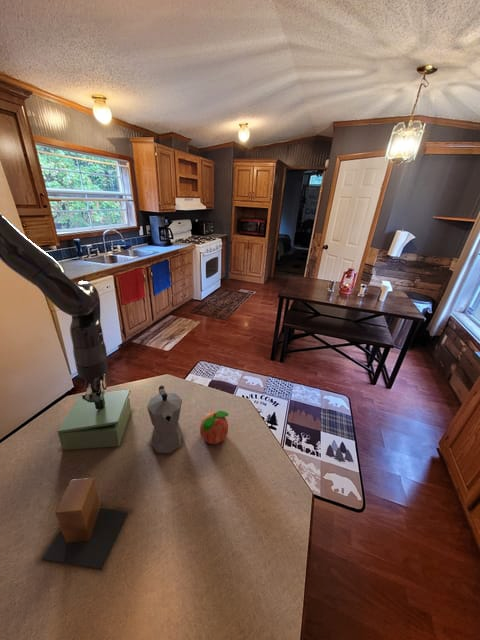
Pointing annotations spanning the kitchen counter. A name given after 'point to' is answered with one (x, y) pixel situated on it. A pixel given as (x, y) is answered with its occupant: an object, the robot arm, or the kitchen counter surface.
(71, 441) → the open box
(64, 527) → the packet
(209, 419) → the fruit
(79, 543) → the plate
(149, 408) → the coffeepot
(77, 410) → the lid
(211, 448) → the kitchen counter surface
